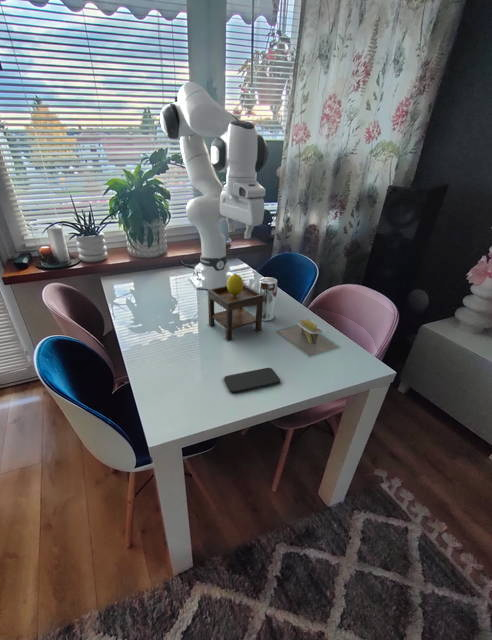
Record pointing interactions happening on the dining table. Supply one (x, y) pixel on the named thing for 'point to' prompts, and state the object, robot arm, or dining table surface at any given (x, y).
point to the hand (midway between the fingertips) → (239, 235)
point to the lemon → (235, 284)
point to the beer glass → (268, 296)
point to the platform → (307, 338)
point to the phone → (251, 380)
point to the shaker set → (254, 285)
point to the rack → (235, 308)
